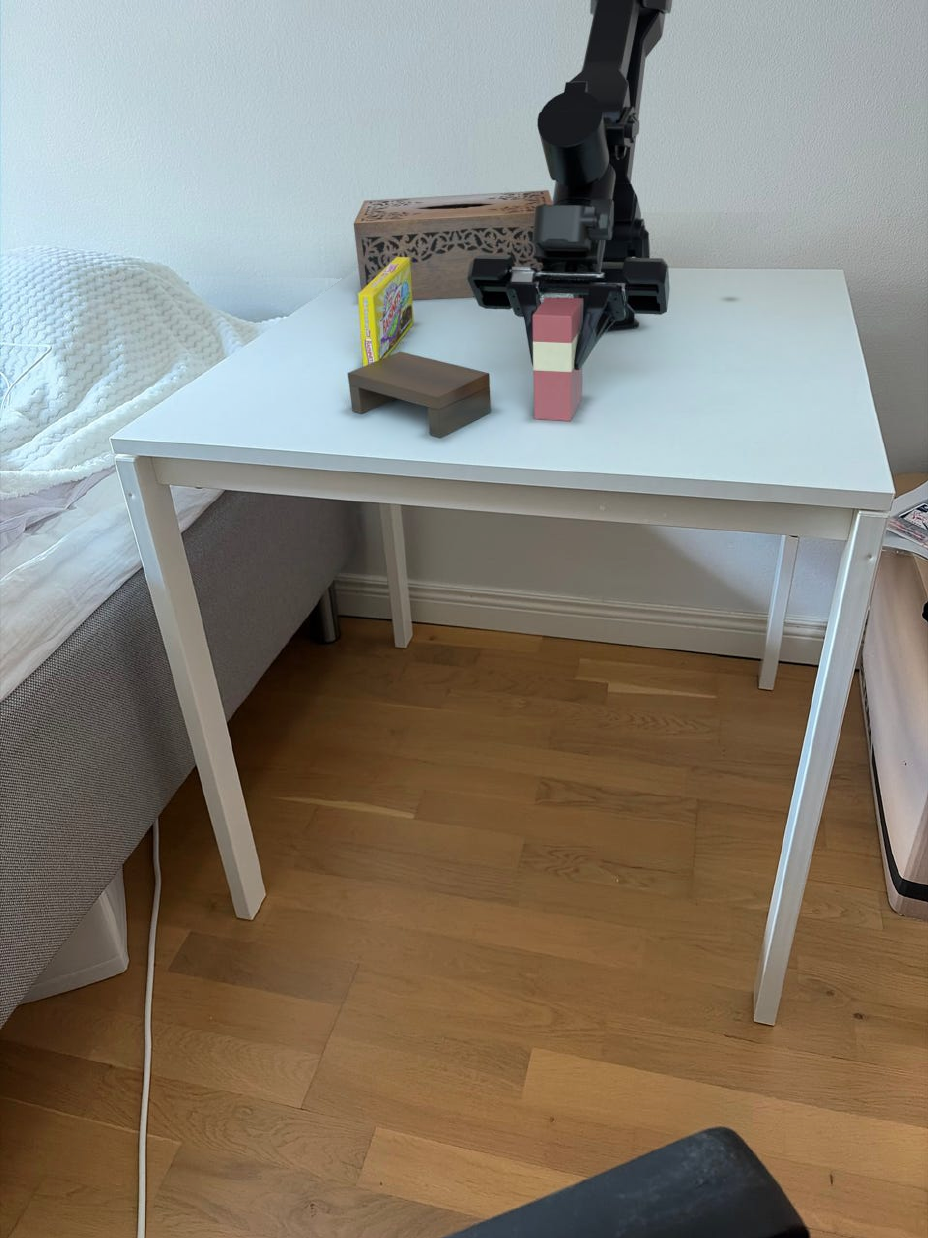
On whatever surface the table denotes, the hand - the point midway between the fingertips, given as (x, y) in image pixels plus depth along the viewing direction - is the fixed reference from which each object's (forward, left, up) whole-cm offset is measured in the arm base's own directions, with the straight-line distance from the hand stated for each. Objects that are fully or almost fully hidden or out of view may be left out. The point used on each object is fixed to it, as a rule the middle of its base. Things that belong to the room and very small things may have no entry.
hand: (555, 367), depth 90 cm
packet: (-1, -1, -5) cm, 5 cm away
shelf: (+13, -5, -5) cm, 14 cm away
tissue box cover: (+1, -50, -5) cm, 50 cm away
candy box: (+14, -26, -5) cm, 29 cm away
